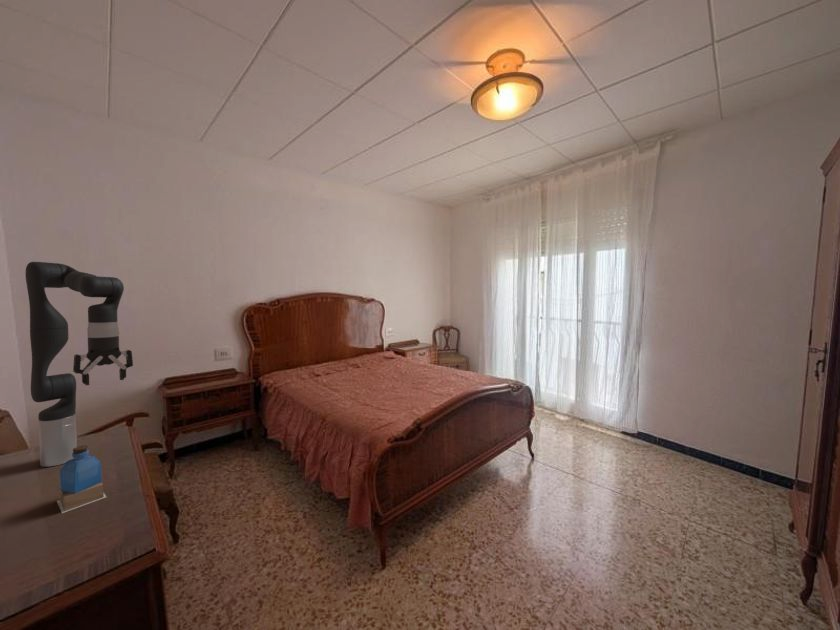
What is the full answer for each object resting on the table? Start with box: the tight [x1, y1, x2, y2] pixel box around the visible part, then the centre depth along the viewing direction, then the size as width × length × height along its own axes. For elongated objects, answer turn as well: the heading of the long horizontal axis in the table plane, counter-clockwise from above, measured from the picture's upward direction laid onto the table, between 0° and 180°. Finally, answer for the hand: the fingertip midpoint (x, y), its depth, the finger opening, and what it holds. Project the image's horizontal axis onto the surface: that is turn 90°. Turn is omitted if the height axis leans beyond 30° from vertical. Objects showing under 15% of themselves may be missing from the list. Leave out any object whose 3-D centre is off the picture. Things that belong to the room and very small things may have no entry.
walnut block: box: [59, 481, 105, 512], centre depth 96 cm, size 8×8×4 cm
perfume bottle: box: [59, 444, 102, 494], centre depth 96 cm, size 6×6×12 cm
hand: (104, 382), depth 108 cm, fingers open, 8 cm apart
